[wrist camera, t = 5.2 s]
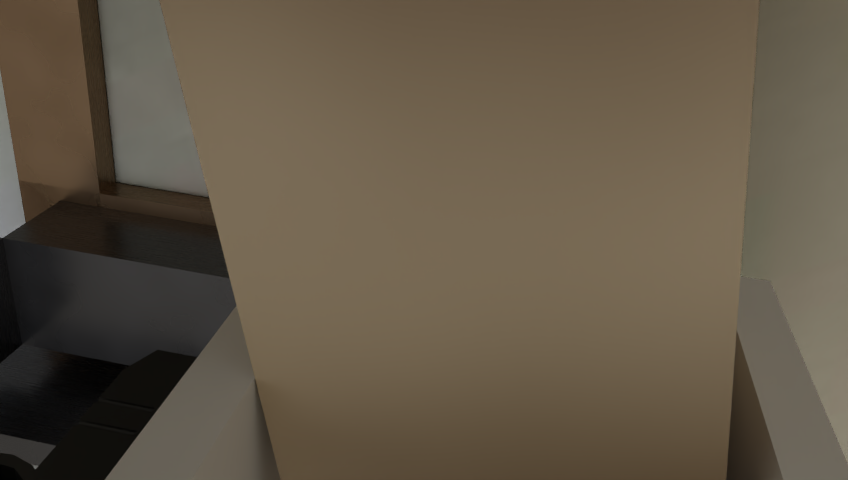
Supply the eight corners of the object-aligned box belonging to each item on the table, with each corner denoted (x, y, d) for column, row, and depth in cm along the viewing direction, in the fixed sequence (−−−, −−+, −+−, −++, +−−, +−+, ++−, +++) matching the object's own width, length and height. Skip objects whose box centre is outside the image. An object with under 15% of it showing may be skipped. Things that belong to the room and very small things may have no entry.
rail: (301, -210, 10) (95, -254, 6) (691, -270, 9) (785, -378, 5) (431, 611, 17) (379, 870, 13) (664, 630, 16) (695, 920, 12)
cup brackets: (-47, -377, 20) (-323, -479, 14) (438, -344, 19) (365, -443, 12) (60, 322, 30) (-74, 441, 24) (381, 384, 29) (326, 528, 23)
